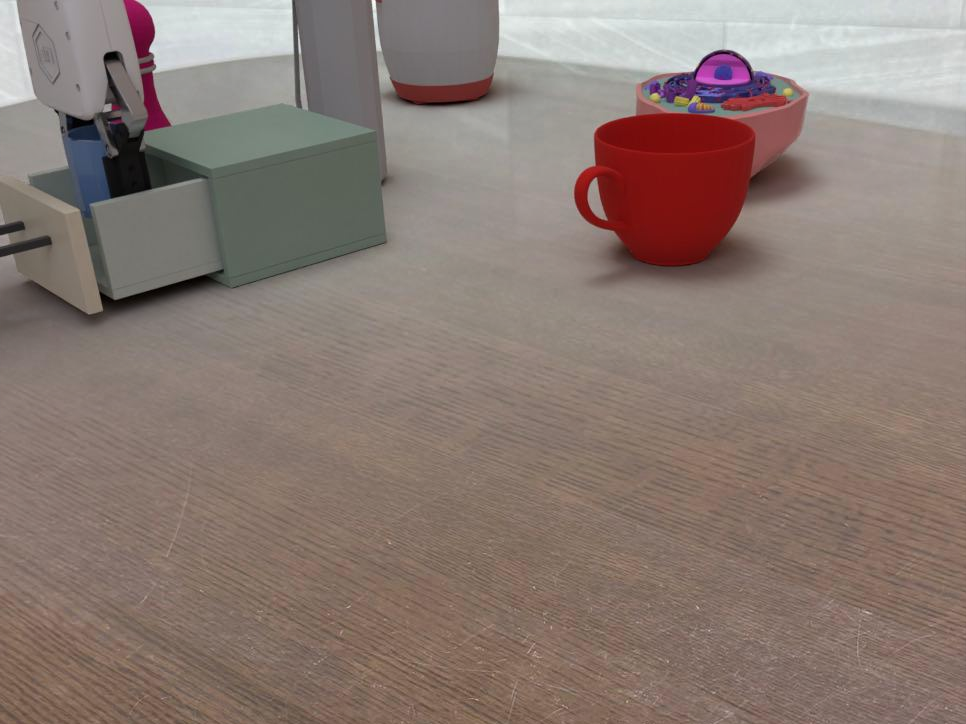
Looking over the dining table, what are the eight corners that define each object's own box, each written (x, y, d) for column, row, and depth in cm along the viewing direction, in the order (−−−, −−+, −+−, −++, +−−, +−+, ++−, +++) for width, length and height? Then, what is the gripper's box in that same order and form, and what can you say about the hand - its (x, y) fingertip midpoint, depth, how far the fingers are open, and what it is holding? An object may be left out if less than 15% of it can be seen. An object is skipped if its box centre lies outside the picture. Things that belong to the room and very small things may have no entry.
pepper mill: (172, 186, 122) (132, -30, 111) (205, 202, 117) (166, -23, 106) (104, 201, 118) (55, -22, 107) (134, 218, 113) (87, -14, 103)
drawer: (16, 336, 87) (-13, 231, 83) (-52, 289, 96) (-81, 192, 92) (256, 267, 99) (241, 171, 95) (176, 230, 107) (160, 141, 103)
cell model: (609, 199, 115) (610, 75, 109) (654, 145, 131) (658, 34, 125) (787, 211, 111) (799, 83, 105) (812, 154, 127) (823, 39, 121)
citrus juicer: (364, 86, 159) (347, -84, 148) (494, 78, 161) (487, -90, 150) (372, 114, 146) (354, -70, 135) (513, 105, 148) (507, -77, 137)
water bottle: (403, 175, 123) (380, -100, 110) (363, 196, 117) (333, -91, 104) (328, 166, 127) (296, -101, 113) (285, 187, 121) (246, -93, 107)
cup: (100, 224, 92) (82, 145, 89) (68, 209, 96) (50, 132, 93) (167, 208, 96) (152, 131, 92) (134, 193, 99) (118, 118, 96)
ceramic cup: (526, 263, 101) (523, 141, 95) (669, 218, 110) (673, 105, 104) (634, 305, 92) (636, 174, 87) (779, 253, 101) (790, 131, 96)
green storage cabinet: (231, 288, 97) (211, 168, 92) (146, 246, 106) (123, 135, 101) (386, 242, 106) (376, 130, 101) (296, 207, 115) (282, 103, 110)
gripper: (-39, -59, 89) (24, 185, 99) (60, -40, 78) (120, 232, 88) (59, -69, 93) (110, 166, 103) (165, -53, 82) (211, 209, 92)
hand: (114, 194), depth 95 cm, fingers closed on cup, 5 cm apart
